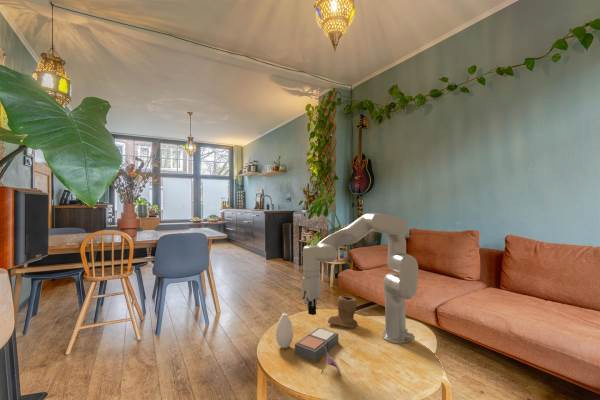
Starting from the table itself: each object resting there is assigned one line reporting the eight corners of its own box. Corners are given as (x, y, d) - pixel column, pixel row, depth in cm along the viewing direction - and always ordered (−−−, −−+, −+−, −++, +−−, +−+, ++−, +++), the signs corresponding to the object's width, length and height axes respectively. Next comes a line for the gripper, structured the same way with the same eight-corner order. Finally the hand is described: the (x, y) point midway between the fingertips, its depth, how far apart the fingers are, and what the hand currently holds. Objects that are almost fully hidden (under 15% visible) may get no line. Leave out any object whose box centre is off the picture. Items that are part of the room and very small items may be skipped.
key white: (334, 338, 131) (334, 333, 131) (326, 345, 125) (326, 339, 125) (319, 333, 136) (319, 328, 136) (310, 340, 130) (310, 334, 130)
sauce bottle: (282, 341, 134) (281, 304, 134) (296, 345, 130) (295, 307, 130) (272, 349, 127) (272, 310, 127) (287, 353, 123) (287, 313, 123)
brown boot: (359, 322, 155) (359, 295, 155) (354, 331, 144) (354, 302, 144) (333, 317, 161) (333, 291, 161) (327, 326, 150) (327, 298, 150)
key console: (338, 343, 132) (338, 333, 132) (315, 362, 116) (315, 352, 116) (319, 336, 138) (318, 327, 138) (294, 354, 122) (294, 344, 122)
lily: (337, 388, 101) (348, 362, 103) (308, 370, 105) (319, 345, 107) (339, 379, 112) (348, 355, 114) (313, 362, 116) (323, 340, 118)
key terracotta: (324, 346, 124) (324, 341, 124) (314, 354, 118) (314, 348, 118) (308, 341, 129) (308, 336, 129) (298, 348, 122) (298, 343, 123)
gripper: (313, 268, 132) (314, 307, 132) (294, 275, 120) (295, 317, 120) (327, 270, 128) (327, 310, 128) (309, 278, 116) (309, 322, 116)
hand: (312, 313), depth 124 cm, fingers closed
